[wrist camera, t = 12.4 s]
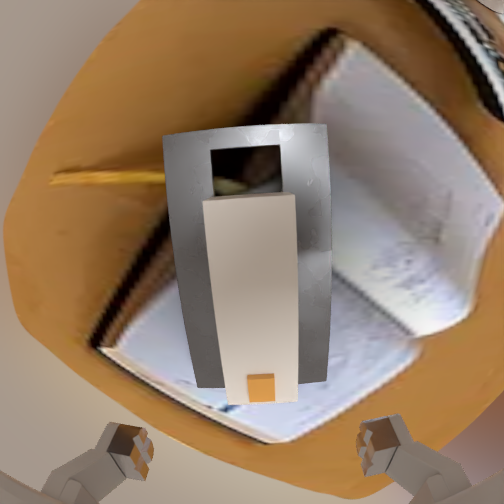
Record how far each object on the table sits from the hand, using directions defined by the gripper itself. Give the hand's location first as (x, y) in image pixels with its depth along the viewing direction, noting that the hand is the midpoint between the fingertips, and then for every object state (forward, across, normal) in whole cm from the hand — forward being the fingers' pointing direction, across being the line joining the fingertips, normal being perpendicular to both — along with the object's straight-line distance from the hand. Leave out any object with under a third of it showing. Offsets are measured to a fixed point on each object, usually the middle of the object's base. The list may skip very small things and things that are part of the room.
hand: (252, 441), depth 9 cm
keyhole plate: (+18, 0, -1) cm, 19 cm away
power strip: (+18, 0, +1) cm, 18 cm away
